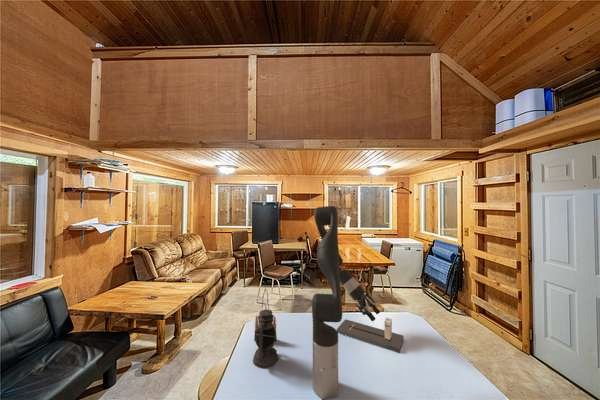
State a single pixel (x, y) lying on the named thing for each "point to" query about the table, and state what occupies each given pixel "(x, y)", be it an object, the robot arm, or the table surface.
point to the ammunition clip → (257, 326)
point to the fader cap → (388, 328)
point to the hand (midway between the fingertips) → (376, 316)
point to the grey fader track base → (371, 335)
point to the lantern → (265, 340)
